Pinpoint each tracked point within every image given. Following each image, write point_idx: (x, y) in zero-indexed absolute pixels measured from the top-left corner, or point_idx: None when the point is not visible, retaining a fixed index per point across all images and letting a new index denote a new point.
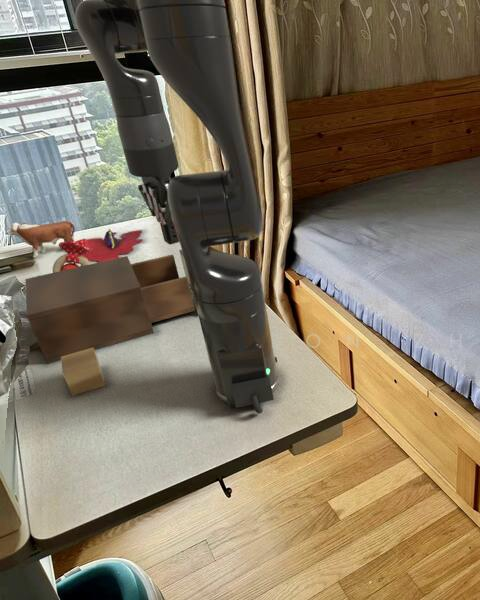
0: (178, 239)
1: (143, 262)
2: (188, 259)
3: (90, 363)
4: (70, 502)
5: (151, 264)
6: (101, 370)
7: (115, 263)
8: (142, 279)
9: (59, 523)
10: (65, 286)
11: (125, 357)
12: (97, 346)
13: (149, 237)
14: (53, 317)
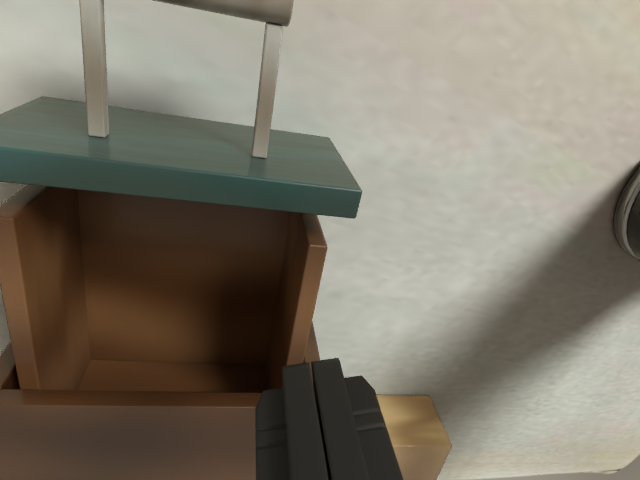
0: (365, 382)
1: (29, 342)
2: None
3: (448, 453)
4: (617, 443)
5: (37, 306)
6: (395, 403)
7: (38, 445)
8: (66, 311)
9: (632, 451)
10: None
11: (363, 356)
12: None
13: None
14: None
